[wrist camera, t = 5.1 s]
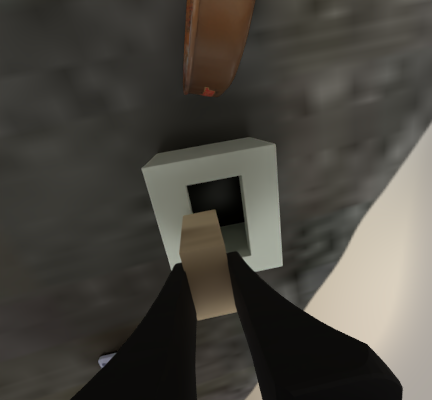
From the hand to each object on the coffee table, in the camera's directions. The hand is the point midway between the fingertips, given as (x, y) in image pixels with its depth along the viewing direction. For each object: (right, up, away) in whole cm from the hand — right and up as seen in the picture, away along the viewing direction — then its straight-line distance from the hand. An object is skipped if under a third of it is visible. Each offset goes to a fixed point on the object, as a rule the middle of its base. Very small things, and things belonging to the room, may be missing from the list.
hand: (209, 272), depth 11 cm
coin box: (0, +4, +9) cm, 10 cm away
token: (0, +1, +3) cm, 3 cm away
